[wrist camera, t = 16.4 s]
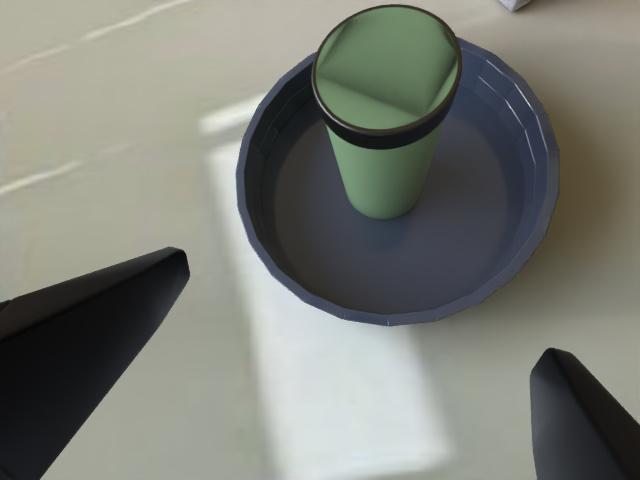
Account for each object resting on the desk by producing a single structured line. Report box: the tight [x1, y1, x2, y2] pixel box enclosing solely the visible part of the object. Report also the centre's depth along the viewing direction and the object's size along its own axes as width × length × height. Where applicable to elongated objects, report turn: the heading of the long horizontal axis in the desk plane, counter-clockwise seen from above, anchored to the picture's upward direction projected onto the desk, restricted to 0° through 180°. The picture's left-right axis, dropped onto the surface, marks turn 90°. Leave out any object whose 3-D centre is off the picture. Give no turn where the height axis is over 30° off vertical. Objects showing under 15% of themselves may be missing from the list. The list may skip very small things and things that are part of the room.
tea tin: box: [311, 4, 463, 220], centre depth 17 cm, size 5×5×11 cm
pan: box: [236, 37, 559, 326], centre depth 21 cm, size 18×18×4 cm
